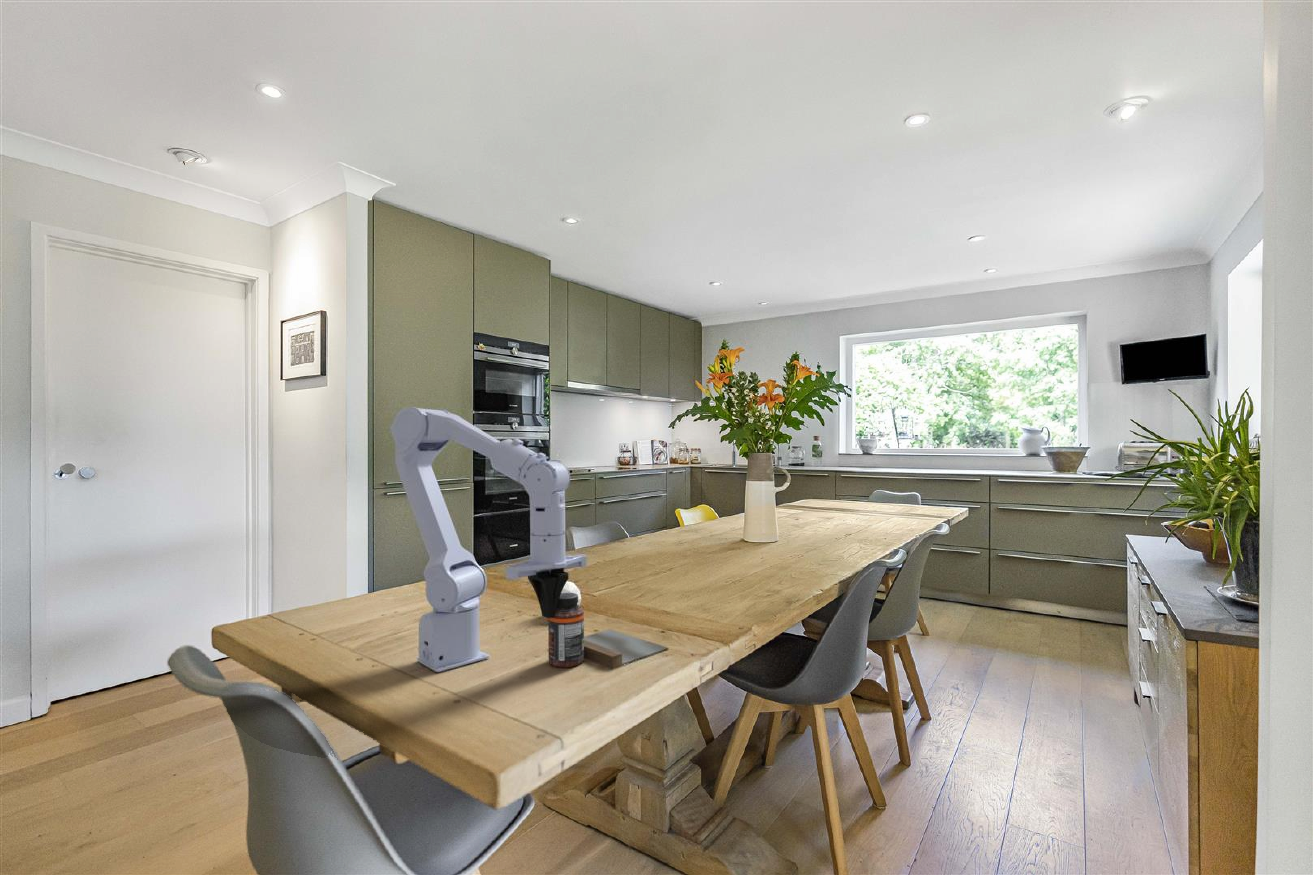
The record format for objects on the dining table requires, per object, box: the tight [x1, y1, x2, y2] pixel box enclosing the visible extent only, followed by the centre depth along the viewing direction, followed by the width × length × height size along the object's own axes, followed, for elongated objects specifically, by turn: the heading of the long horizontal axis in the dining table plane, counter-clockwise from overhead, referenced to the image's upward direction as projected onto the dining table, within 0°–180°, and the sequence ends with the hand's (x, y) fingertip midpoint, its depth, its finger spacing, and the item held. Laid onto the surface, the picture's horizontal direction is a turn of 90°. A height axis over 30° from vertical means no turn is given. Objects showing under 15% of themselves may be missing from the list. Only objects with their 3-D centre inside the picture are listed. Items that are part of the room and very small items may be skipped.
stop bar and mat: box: [584, 629, 669, 670], centre depth 107 cm, size 13×16×2 cm
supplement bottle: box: [547, 593, 585, 668], centre depth 101 cm, size 6×6×11 cm
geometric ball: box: [561, 580, 582, 607], centre depth 128 cm, size 8×8×8 cm
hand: (548, 616), depth 98 cm, fingers closed
